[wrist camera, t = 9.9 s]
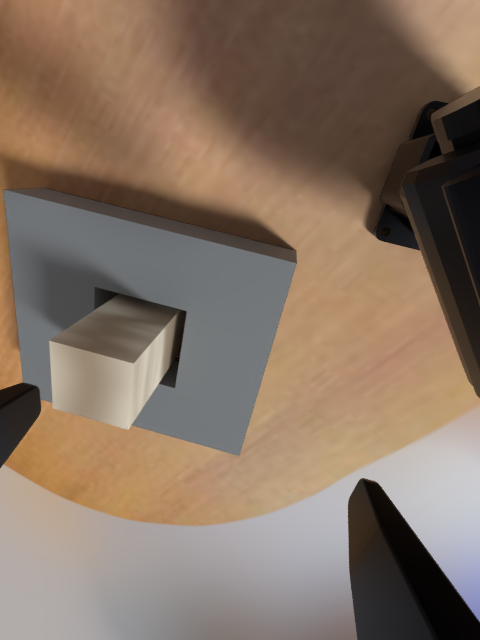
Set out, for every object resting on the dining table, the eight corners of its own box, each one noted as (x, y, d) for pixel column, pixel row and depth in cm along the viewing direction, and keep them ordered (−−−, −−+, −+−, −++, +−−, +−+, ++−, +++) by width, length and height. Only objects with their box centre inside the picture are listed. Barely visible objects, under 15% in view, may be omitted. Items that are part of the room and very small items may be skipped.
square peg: (187, 300, 21) (133, 363, 14) (180, 350, 23) (128, 429, 16) (130, 285, 22) (49, 340, 14) (127, 336, 23) (52, 408, 16)
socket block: (296, 250, 19) (296, 263, 16) (245, 425, 25) (239, 455, 22) (43, 187, 20) (3, 189, 17) (52, 371, 26) (24, 394, 23)
